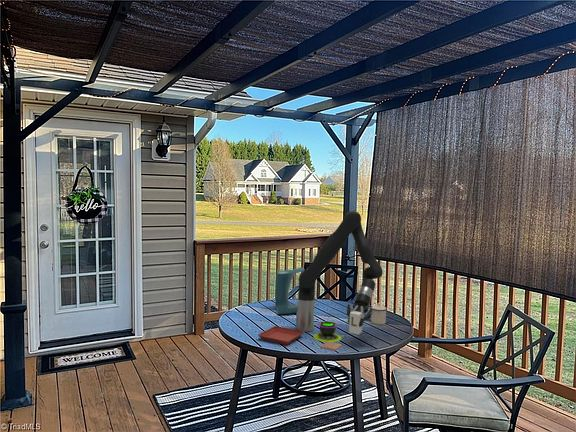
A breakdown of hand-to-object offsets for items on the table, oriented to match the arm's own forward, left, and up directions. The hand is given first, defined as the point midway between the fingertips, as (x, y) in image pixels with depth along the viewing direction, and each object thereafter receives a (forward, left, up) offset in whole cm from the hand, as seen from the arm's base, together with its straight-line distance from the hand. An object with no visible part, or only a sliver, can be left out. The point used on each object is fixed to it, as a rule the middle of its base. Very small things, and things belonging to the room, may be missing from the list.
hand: (354, 324), depth 210 cm
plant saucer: (-36, -12, -11) cm, 39 cm away
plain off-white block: (0, +2, -4) cm, 5 cm away
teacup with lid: (-5, +48, -11) cm, 49 cm away
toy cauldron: (-17, +4, -11) cm, 20 cm away
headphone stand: (-58, +38, -11) cm, 70 cm away
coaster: (-9, -8, -11) cm, 16 cm away
